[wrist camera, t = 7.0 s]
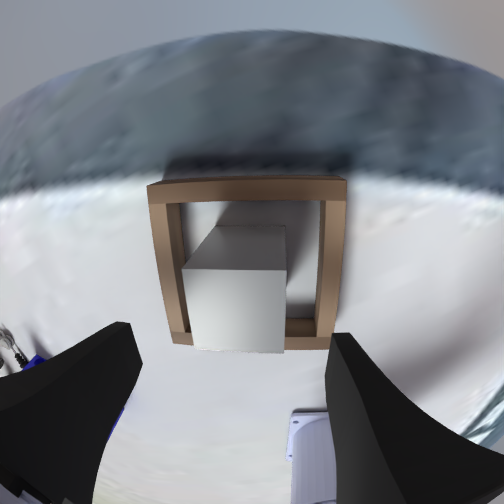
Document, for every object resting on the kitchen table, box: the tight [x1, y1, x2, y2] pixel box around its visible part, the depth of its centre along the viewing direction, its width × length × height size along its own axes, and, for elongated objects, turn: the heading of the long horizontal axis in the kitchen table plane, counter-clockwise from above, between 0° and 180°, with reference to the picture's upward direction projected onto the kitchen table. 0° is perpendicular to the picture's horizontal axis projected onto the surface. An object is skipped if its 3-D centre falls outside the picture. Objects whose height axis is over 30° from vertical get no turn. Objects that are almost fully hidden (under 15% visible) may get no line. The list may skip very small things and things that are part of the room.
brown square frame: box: [147, 175, 347, 350], centre depth 16 cm, size 10×10×2 cm
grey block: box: [182, 226, 287, 353], centre depth 14 cm, size 4×4×6 cm
